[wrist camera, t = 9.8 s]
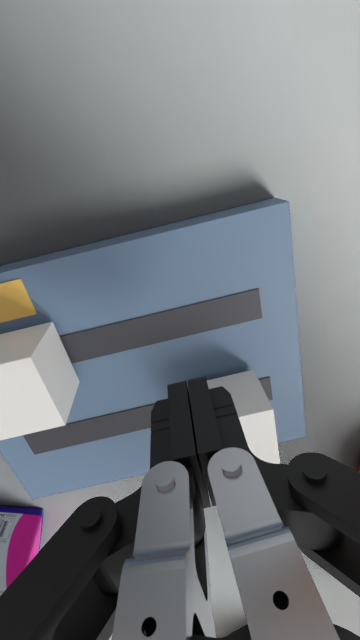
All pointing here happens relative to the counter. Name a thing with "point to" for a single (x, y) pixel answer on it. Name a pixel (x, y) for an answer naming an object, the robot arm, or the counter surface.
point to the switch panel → (156, 334)
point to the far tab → (252, 413)
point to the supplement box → (18, 541)
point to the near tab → (34, 381)
